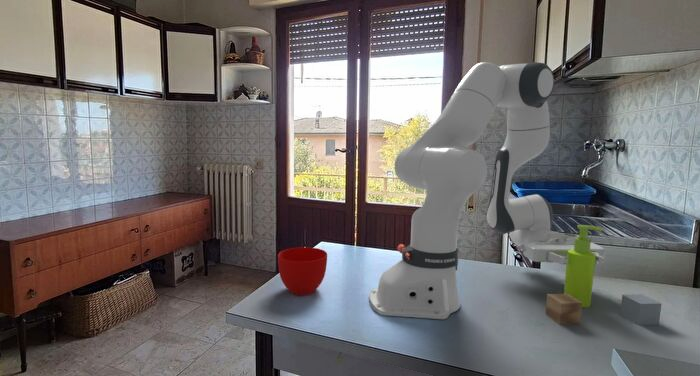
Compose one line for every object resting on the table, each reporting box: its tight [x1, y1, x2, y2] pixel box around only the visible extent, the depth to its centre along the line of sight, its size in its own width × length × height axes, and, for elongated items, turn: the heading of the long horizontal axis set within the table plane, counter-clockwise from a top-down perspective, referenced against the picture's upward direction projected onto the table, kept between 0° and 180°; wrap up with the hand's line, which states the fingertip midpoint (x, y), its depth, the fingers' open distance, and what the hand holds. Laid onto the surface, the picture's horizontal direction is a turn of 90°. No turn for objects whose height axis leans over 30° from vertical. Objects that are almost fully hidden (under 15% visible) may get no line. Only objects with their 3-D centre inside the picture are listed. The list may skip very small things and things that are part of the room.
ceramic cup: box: [277, 246, 328, 296], centre depth 98 cm, size 13×17×10 cm
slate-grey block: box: [619, 293, 663, 326], centre depth 84 cm, size 5×5×5 cm
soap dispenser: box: [563, 224, 604, 308], centre depth 91 cm, size 6×7×20 cm
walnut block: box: [545, 293, 583, 325], centre depth 83 cm, size 5×5×5 cm
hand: (583, 261), depth 91 cm, fingers open, 8 cm apart
